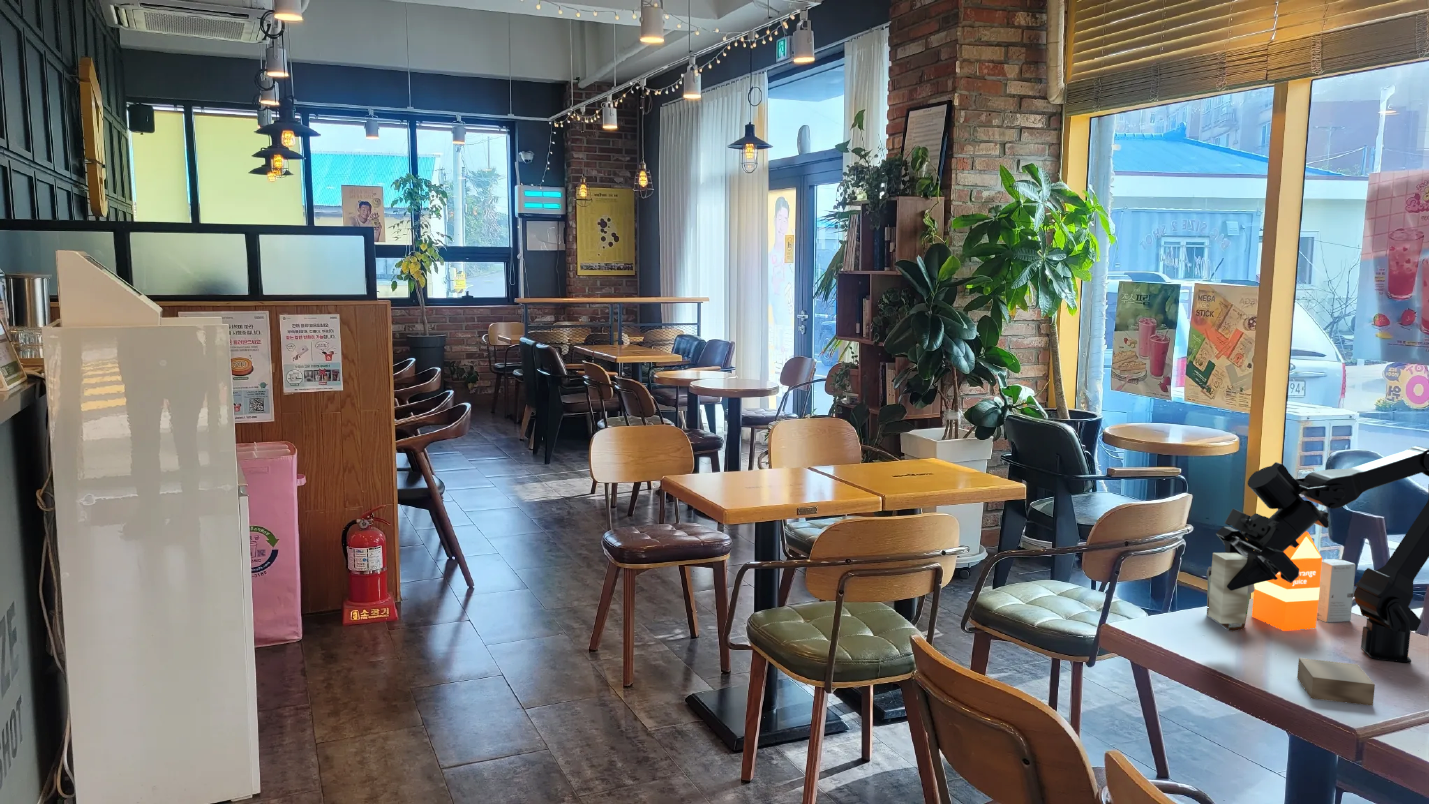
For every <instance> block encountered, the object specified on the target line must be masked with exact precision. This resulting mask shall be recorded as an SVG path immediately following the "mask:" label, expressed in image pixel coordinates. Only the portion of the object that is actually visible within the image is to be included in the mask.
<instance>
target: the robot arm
mask: <svg viewBox="0 0 1429 804" xmlns="http://www.w3.org/2000/svg"><path fill="white" fill-rule="evenodd" d="M1419 474H1423V475H1425V476H1427V477H1428V478H1429V447H1424V446H1420V445H1416V446H1415V445H1413V446H1411V447H1409V448H1407V449H1405V450H1404V451H1400V452H1397V453H1394V454H1390V455H1388V456H1387V455H1386V456H1385V457H1381V458H1378V459H1376V460H1373V461H1372V460H1371V461H1369V462H1365V463H1363V464H1360V465H1356V466H1353V467H1349V468H1334V469H1332V468H1329V469H1323V470H1316V471H1312V472H1309V473H1308V474H1306V475H1305V476H1303V477H1298V478H1294V476H1293V475H1292V474H1291V473H1290V472H1289V471H1288V469H1287V467H1286V466H1285V465H1284V464H1283V463H1281V462H1276V461H1275V462H1274V463H1273V464H1272V465H1270V466H1269V465H1268V466H1266V467H1262V468H1261V469H1259V470H1256V471H1254V472H1253V473H1252V474H1251V475H1250V477H1249V478H1248V480H1247V486H1248V488H1249V489H1251V490H1252V492H1253V493H1254V494H1255V495H1256V496H1257V497H1258V498H1259V500H1260V501H1262V502H1263V503H1264V505H1265V506H1266V507H1267V508H1269V509H1271V510H1276V511H1275V512H1274V513H1273V514H1272V515H1271V516H1270V517H1267V516H1264V515H1261V514H1259V513H1257V512H1256V513H1253V514H1252V515H1249V514H1247V513H1244V512H1242V511H1240V510H1238V509H1235V508H1232V509H1231V511H1230V513H1229V514H1228V516H1227V517H1226V519H1225V521H1224V524H1225V525H1227V526H1222V527H1221V528H1220V529H1218V531H1216V533H1215V535H1216V536H1217V537H1218V538H1219V540H1221V541H1222V544H1223V545H1224V553H1238V554H1240V555H1242V556H1244V557H1246V558H1247V563H1246V565H1245V566H1244V567H1243V568H1242V569H1241V570H1240V571H1239V572H1238V573H1237V574H1236V576H1235V577H1234V578H1233V579H1232V580H1231V581H1230V582H1229V584H1228V585H1227V588H1228V589H1229V590H1231V591H1232V590H1236V589H1239V588H1242V587H1246V586H1249V585H1253V584H1256V583H1260V582H1264V581H1268V580H1273V579H1274V580H1277V579H1278V578H1277V577H1276V576H1275V575H1276V574H1277V573H1279V572H1280V573H1281V576H1280V577H1281V578H1282V579H1283V580H1285V581H1287V582H1289V583H1292V582H1293V581H1294V580H1295V579H1296V578H1298V577H1299V568H1298V567H1297V566H1296V565H1295V564H1294V563H1293V562H1292V560H1291V559H1290V558H1289V557H1288V556H1287V555H1286V554H1285V553H1284V551H1285V550H1286V549H1287V548H1288V547H1289V546H1292V547H1294V548H1296V547H1297V546H1298V545H1299V543H1298V542H1297V541H1296V540H1297V539H1298V538H1299V537H1300V536H1301V535H1302V534H1304V533H1305V532H1308V530H1309V529H1310V528H1311V527H1313V525H1317V526H1320V527H1323V528H1325V529H1328V528H1329V527H1330V524H1329V523H1330V522H1329V514H1330V513H1329V512H1326V511H1324V510H1321V509H1319V508H1318V507H1317V506H1316V505H1315V504H1318V505H1320V506H1323V507H1326V508H1329V509H1332V510H1336V509H1340V508H1343V507H1344V506H1346V505H1349V504H1351V503H1353V502H1354V501H1356V500H1357V499H1358V498H1359V497H1360V496H1361V495H1362V494H1364V493H1365V492H1367V491H1369V490H1373V489H1375V488H1378V487H1381V486H1385V485H1388V484H1391V483H1395V482H1396V481H1400V480H1403V479H1404V480H1405V479H1406V478H1409V477H1412V476H1415V475H1419ZM1427 491H1428V493H1427V494H1428V495H1427V496H1428V499H1427V502H1426V503H1425V505H1424V507H1422V509H1421V511H1420V512H1419V514H1418V515H1417V516H1416V519H1415V520H1414V521H1413V523H1412V525H1411V526H1410V527H1409V529H1408V530H1407V532H1406V533H1405V535H1404V536H1403V538H1402V539H1401V541H1400V543H1399V544H1398V545H1397V547H1396V548H1395V550H1394V552H1393V553H1392V554H1391V556H1390V557H1389V559H1387V562H1386V563H1385V564H1384V565H1382V566H1381V567H1379V568H1378V569H1376V570H1374V569H1373V568H1370V567H1367V568H1366V569H1365V570H1364V571H1363V574H1362V576H1361V578H1360V579H1359V580H1358V581H1357V582H1356V583H1354V586H1355V587H1356V588H1355V590H1354V591H1353V598H1354V600H1355V603H1356V604H1357V606H1358V607H1359V610H1360V614H1361V616H1362V617H1366V624H1365V625H1364V626H1363V627H1362V632H1361V643H1360V648H1361V649H1362V650H1363V651H1364V652H1365V653H1366V655H1368V657H1369V658H1371V659H1374V660H1382V661H1394V662H1399V663H1401V662H1402V663H1412V659H1411V658H1410V657H1409V651H1410V649H1409V648H1410V640H1411V632H1417V631H1418V630H1419V628H1420V625H1421V623H1422V620H1421V618H1419V616H1418V615H1417V614H1416V613H1415V612H1414V611H1413V610H1412V609H1411V608H1410V605H1411V602H1412V601H1413V598H1414V582H1415V579H1416V577H1417V576H1418V574H1419V573H1420V571H1421V570H1422V568H1423V567H1424V565H1425V564H1426V563H1427V561H1428V559H1429V485H1428V490H1427ZM1302 496H1304V498H1305V499H1304V498H1302ZM1314 503H1315V504H1314Z"/></svg>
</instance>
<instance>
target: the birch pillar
mask: <svg viewBox="0 0 1429 804" xmlns="http://www.w3.org/2000/svg"><path fill="white" fill-rule="evenodd" d="M1211 560H1212V561H1211V567H1212V570H1211V583H1210V596H1209V610H1208V615H1209V616H1210V617H1212V618H1213V619H1215V620H1216V621H1218V622H1219V623H1221V624H1245V625H1246V623H1245V618H1246V619H1247V617H1246V606H1247V594H1248V586H1246V587H1242V588H1239V589H1236V590H1232V591H1231V590H1229V589H1228V588H1227V585H1228V584H1229V582H1230V581H1231V580H1232V579H1233V578H1234V577H1235V576H1236V574H1237V573H1238V572H1239V571H1240V570H1241V569H1242V568H1243V567H1244V566H1245V565H1246V563H1247V558H1246V557H1244V556H1242V555H1240V554H1238V553H1225V552H1212V559H1211ZM1209 616H1208V617H1209ZM1210 617H1209V618H1210ZM1213 619H1212V620H1213ZM1216 621H1215V622H1216Z"/></svg>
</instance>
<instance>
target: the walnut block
mask: <svg viewBox="0 0 1429 804" xmlns="http://www.w3.org/2000/svg"><path fill="white" fill-rule="evenodd" d="M1296 678H1298V679H1297V681H1298V682H1299V683H1300V685H1301V686H1302V688H1303V689H1304V688H1305V689H1304V690H1305V692H1306V691H1307V692H1306V693H1307V695H1308V696H1309V698H1310V699H1311V698H1312V699H1314V700H1322V701H1330V702H1336V703H1345V702H1347V704H1355V705H1363V706H1369V707H1370V706H1371V707H1373V705H1374V697H1375V689H1376V684H1375V683H1374V681H1372V679H1371V678H1370V677H1369V675H1368V674H1367V673H1366V672H1365V671H1364V670H1363V669H1362V667H1361V666H1360V665H1359V664H1357V663H1348V662H1338V661H1330V660H1320V659H1312V658H1306V657H1305V658H1304V657H1298V667H1297V677H1296Z"/></svg>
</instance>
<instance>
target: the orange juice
mask: <svg viewBox="0 0 1429 804" xmlns="http://www.w3.org/2000/svg"><path fill="white" fill-rule="evenodd" d="M1296 541H1297V542H1298V543H1299V545H1298V546H1297V547H1296V548H1294V547H1292V546H1289V547H1288V548H1287V549H1286V550H1285V551H1284V553H1285V554H1286V555H1287V556H1288V557H1289V558H1290V559H1291V560H1292V562H1293V563H1294V564H1295V565H1296V566H1297V567H1298V568H1299V577H1298V578H1296V579H1295V580H1294V581H1293V582H1292V583H1289V582H1287V581H1285V580H1283V579H1282V578H1281V577H1280V576H1281V573H1280V572H1279V573H1277V574H1276V575H1275V576H1276V577H1277V578H1278V579H1277V580H1274V579H1273V580H1268V581H1264V582H1260V583H1256V584H1254V587H1255V591H1254V592H1253V599H1252V611H1251V617H1253V618H1255V619H1256V620H1259V621H1260V622H1263V623H1265V622H1266V623H1265V624H1267V625H1269V624H1270V625H1269V626H1271V627H1274V626H1275V627H1274V628H1276V629H1278V628H1279V629H1278V630H1280V629H1281V630H1280V631H1283V632H1286V631H1287V632H1288V631H1301V630H1300V629H1305V630H1311V629H1310V628H1316V627H1317V608H1318V600H1319V590H1320V576H1321V565H1322V560H1323V557H1322V555H1321V553H1320V551H1319V550H1318V547H1317V546H1316V544H1315V542H1314V540H1313V539H1312V537H1311V534H1310V533H1309V531H1306V532H1305V533H1304V534H1302V535H1301V536H1300V537H1299V538H1298V539H1297V540H1296ZM1307 628H1308V629H1307ZM1316 629H1317V628H1316Z"/></svg>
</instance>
